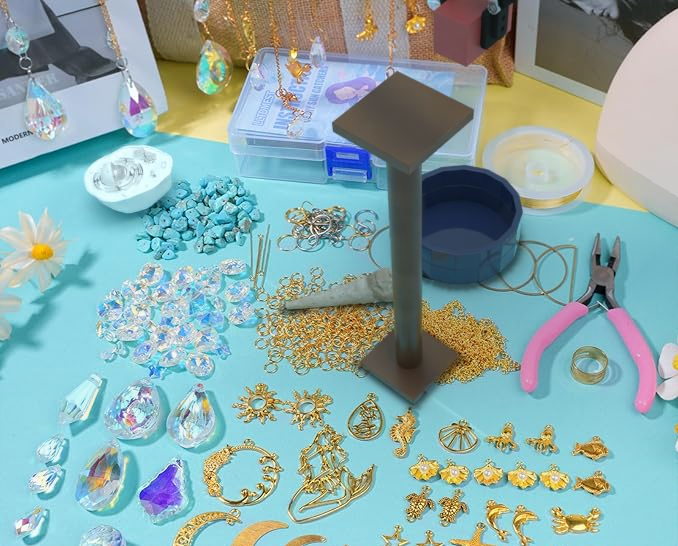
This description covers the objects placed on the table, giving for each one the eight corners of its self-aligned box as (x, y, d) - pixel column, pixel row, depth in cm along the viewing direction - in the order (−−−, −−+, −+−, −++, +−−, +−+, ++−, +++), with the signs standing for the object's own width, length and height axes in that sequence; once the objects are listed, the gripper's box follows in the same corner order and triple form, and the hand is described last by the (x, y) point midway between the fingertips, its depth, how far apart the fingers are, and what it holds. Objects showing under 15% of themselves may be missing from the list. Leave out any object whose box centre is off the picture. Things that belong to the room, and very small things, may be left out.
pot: (449, 182, 111) (450, 148, 106) (540, 233, 104) (546, 200, 99) (377, 247, 105) (374, 215, 100) (469, 306, 99) (471, 274, 94)
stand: (405, 322, 98) (396, 70, 69) (458, 358, 95) (474, 109, 65) (360, 366, 95) (331, 122, 66) (413, 405, 92) (408, 165, 62)
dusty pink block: (477, 16, 83) (479, -26, 79) (510, 30, 81) (514, -12, 77) (433, 52, 80) (433, 10, 76) (466, 67, 78) (467, 25, 75)
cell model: (186, 213, 111) (173, 177, 106) (98, 234, 111) (80, 198, 105) (177, 163, 117) (164, 126, 112) (93, 182, 116) (76, 145, 111)
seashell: (417, 302, 100) (416, 286, 96) (290, 328, 100) (283, 313, 96) (410, 272, 102) (408, 254, 98) (285, 298, 102) (278, 281, 98)
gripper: (600, -164, 62) (569, 44, 77) (428, -213, 70) (429, -15, 85) (542, -120, 60) (521, 86, 75) (369, -176, 67) (381, 22, 82)
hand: (472, 31), depth 80 cm, fingers closed on dusty pink block, 4 cm apart
